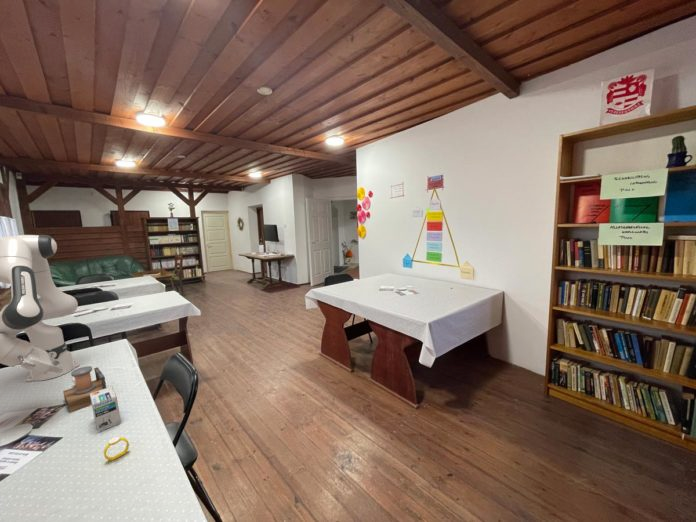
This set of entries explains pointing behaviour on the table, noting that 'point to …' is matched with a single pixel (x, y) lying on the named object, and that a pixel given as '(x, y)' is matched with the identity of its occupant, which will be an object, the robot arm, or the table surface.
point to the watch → (112, 442)
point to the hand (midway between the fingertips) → (60, 367)
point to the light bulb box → (105, 408)
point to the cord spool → (83, 380)
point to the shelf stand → (84, 400)
